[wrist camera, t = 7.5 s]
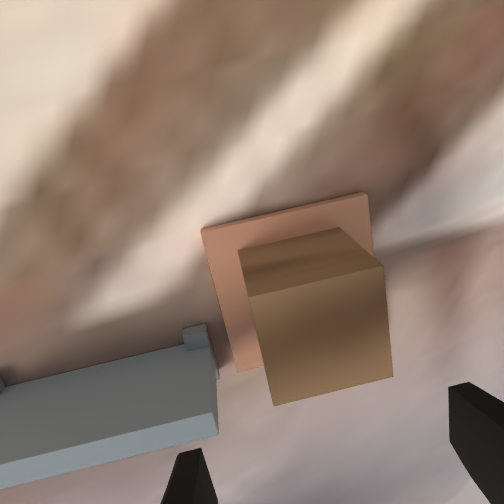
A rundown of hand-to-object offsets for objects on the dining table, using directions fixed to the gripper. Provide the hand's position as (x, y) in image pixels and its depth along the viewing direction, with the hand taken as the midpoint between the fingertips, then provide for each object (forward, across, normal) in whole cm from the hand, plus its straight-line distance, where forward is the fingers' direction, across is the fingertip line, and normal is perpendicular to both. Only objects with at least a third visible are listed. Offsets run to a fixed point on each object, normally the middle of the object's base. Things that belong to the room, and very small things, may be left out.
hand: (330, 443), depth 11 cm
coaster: (+10, -1, 0) cm, 10 cm away
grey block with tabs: (+10, +10, +2) cm, 14 cm away
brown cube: (+9, -1, 0) cm, 9 cm away
